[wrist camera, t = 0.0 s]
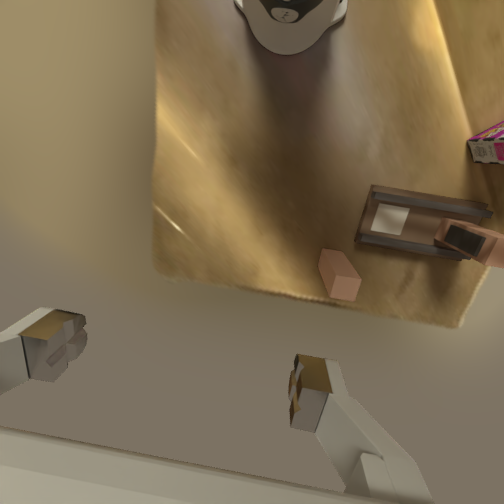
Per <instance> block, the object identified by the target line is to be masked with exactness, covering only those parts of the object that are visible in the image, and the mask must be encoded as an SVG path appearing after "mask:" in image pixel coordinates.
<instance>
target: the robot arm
mask: <svg viewBox="0 0 504 504" xmlns="http://www.w3.org/2000/svg"><path fill="white" fill-rule="evenodd" d="M339 1H340V0H234V2H235V3H236V5H237V6H238V7H239V9H240V10H241V11H242V12H243V13H244V14H245V16H246V18H247V20H248V23H249V25H250V28H251V30H252V32H253V34H254V36H255V37H256V39H257V40H258V41H259V42H260V43H261V44H262V45H263V46H264V47H265V48H267V49H268V50H270V51H272V52H274V53H277V54H282V55H291V54H296V53H299V52H302V51H304V50H306V49H307V48H309V47H310V46H311V45H313V44H314V43H315V42H316V41H317V40H318V39H319V38H320V36H321V35H322V34H323V33H324V31H325V30H326V29H327V28H328V27H330V26H332V25H334V24H335V23H337V22H339V21H340V20H341V19H342V18H343V17H344V16H345V14H346V10H347V1H348V0H342V3H339ZM84 325H86V318H85V316H84V315H82V314H79V313H74V312H69V311H64V310H59V309H53V308H49V307H41V308H38V309H37V310H35V311H34V312H32V313H31V314H29V315H28V316H26V317H24V318H23V319H21V320H20V321H18V322H17V323H15V324H14V325H12V326H10V327H9V328H7V329H6V330H4V331H3V332H0V395H1V394H3V393H5V392H7V391H9V390H11V389H13V388H15V387H16V386H18V385H20V384H22V383H24V382H26V381H28V380H29V379H35V380H41V381H48V382H54V381H55V380H56V379H57V378H58V377H59V376H60V375H61V374H62V373H63V372H64V371H65V370H66V369H67V368H68V362H70V361H72V360H74V359H77V358H78V357H79V356H80V354H81V353H82V352H83V350H84V348H85V346H86V343H87V333H86V331H85V330H84V329H83V327H84ZM288 393H289V399H290V401H291V405H290V409H289V412H290V427H291V428H295V429H300V430H305V431H309V432H313V433H315V435H316V437H317V439H318V440H319V442H320V444H321V445H322V447H323V448H324V450H325V452H326V454H327V455H328V457H329V459H330V460H331V462H332V463H333V465H334V467H335V469H336V470H337V472H338V474H339V475H340V477H341V479H342V480H343V482H344V484H345V485H346V489H345V491H344V493H342V492H338V491H333V490H328V489H322V488H317V487H312V486H306V485H302V484H297V483H291V482H287V481H282V480H276V479H271V478H266V477H261V476H256V475H250V474H245V473H240V472H235V471H230V470H225V469H219V468H215V467H209V466H204V465H199V464H194V463H188V462H184V461H178V460H173V459H168V458H163V457H158V456H152V455H147V454H142V453H137V452H132V451H126V450H121V449H117V448H112V447H107V446H101V445H96V444H91V443H85V442H81V441H75V440H71V439H66V438H60V437H55V436H50V435H45V434H40V433H35V432H29V431H25V430H19V429H14V428H9V427H4V426H0V504H434V501H433V499H432V497H431V495H430V493H429V490H428V488H427V486H426V484H425V482H424V479H423V477H422V475H421V473H420V471H419V469H418V466H417V464H416V462H415V461H414V460H413V459H412V458H411V457H410V456H409V455H408V454H407V453H406V451H404V450H403V448H402V447H401V446H400V445H399V444H398V443H397V442H396V441H395V440H394V439H393V438H392V437H391V436H390V435H389V434H388V433H387V432H386V431H385V430H384V429H383V428H382V427H381V426H380V425H379V424H378V423H377V422H376V421H375V419H374V418H373V417H372V416H371V415H370V414H369V413H368V412H367V411H366V410H365V409H364V408H363V407H362V406H361V405H360V404H359V403H358V402H357V401H356V400H355V399H354V398H350V397H349V394H348V390H347V387H346V384H345V381H344V378H343V375H342V372H341V368H340V365H339V362H338V361H337V360H332V359H326V358H317V357H312V356H307V355H301V354H296V357H295V360H294V370H293V371H291V375H290V380H289V392H288Z"/></svg>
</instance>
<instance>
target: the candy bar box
mask: <svg viewBox="0 0 504 504" xmlns="http://www.w3.org/2000/svg"><path fill="white" fill-rule="evenodd" d="M467 142H468V146H469V148H470V152H471V155H472V159H473V162H474V163H489V164H504V121H502V122H501V123H499V124H497V125H495V126H493V127H491V128H489V129H487V130H485V131H484V132H482V133H480V134H478V135H476V136H474V137H472V138H470V139H469V140H467Z"/></svg>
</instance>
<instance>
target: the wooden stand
mask: <svg viewBox="0 0 504 504" xmlns="http://www.w3.org/2000/svg"><path fill="white" fill-rule="evenodd" d="M487 206H488V204H485V203H479V202H473V201H468V200H462V199H456V198H450V197H444V196H438V195H432V194H426V193H420V192H414V191H408V190H402V189H396V188H390V187H384V186H378V185H371V188H370V191H369V195H368V198H367V201H366V204H365V208H364V211H363V214H362V217H361V221H360V224H359V227H358V230H357V233H356V237H355V240H354V241H355V242H356V243H359V244H365V245H371V246H376V247H382V248H388V249H394V250H399V251H405V252H411V253H417V254H423V255H428V256H434V257H440V258H446V259H451V260H457V261H461V260H462V259H468V260H470V259H471V258H472V259H474V260H476V261H478V262H480V263H482V264H484V265H488V266H494V267H500V268H504V235H503V234H501V233H498V232H495V231H492V230H489V229H486V228H484V227H481V226H478V225H479V223H480V220H481V218H482V217H486V218H491V216H492V214H493V212H491V211H488V210H486V208H487Z"/></svg>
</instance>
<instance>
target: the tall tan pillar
mask: <svg viewBox="0 0 504 504" xmlns="http://www.w3.org/2000/svg"><path fill="white" fill-rule="evenodd" d="M318 268H319V271H320V274H321V276H322V279H323V281H324V284H325V287H326V289H327V292H328V295H329V297H330V298H336V299H342V300H347V301H353V302H354V301H355V298H356V295H357V293H358V290H359V287H360V284H361V281H362V279H361V278H360V276H359V275H358V273H357V272H356V270H355V269H354V267H353V266H352V265H351V263H350V262H349V260H348V259H347V257H346V256H345V254H344V253H343V252H342V251H337V250H332V249H326V248H322V251H321V255H320V259H319V263H318Z"/></svg>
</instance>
